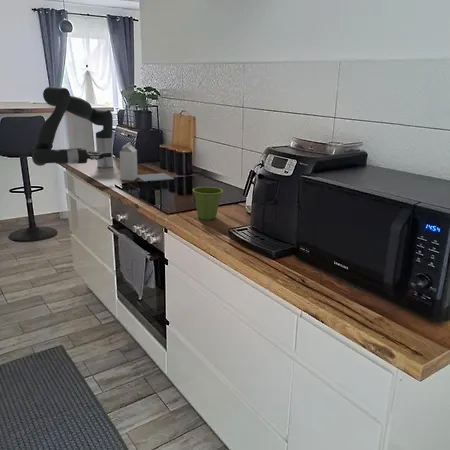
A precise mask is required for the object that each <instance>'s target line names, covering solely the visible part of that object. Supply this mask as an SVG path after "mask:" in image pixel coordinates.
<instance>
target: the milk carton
mask: <svg viewBox="0 0 450 450" xmlns="http://www.w3.org/2000/svg"><path fill="white" fill-rule="evenodd" d="M119 165H120V166H119V167H120V169H119V170H120V172H119V173H120V180H121V181H131V182H132V181H133V182H135V180H137V179H138V175H139V174H138V149H136V148H135V147H134V146H133V145H131V142H128V143H126V144H125V145H123V146H122V147H121V150H120V151H119Z"/></svg>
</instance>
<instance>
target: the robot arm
mask: <svg viewBox="0 0 450 450" xmlns="http://www.w3.org/2000/svg"><path fill="white" fill-rule="evenodd" d="M42 97H43V100H44V101H45V103H46V104H47V105H49V106H52V107H54V109H53V111H52V113H51V115H50V116H49V117H48V118H47V119H46V120H45V121H44V122H43V123H42V125H41V127H40V129H39V133H38V136H37V139H36V140H37V141H36V145H35V148H34V150H33V154H32V156H31V160H32V162H33V163H34V164H35V165H36V166H45V165H46V164H57V165H65V164H67V165H68V164H69V165H77V164H87V163H88V160H90V161H96V163H97V164H96V165H97V168H101V169H102V168H104V169H106V168H107V169H108V168H113V167H114V152H113V149H114V147H113V131H114V130H113V129H114V128H113V127H114V126H113V121H114V118H113V117H114V116H113V112H112V111H111V110H109V109H103V108H102V109H100V108H93V107H92V106H91V103H90V102H88V101H87V100H85V99H83V98H80V97H77V96H74V95H71V93H70V91H69V90H68V89H67V88H66V87H61V86H54V85H53V86H47V87H46V88H45V89H44V90H43V92H42ZM66 112H68V113H69V114H70V113H71V114H72V115H74V116H77V117H79V118H82V119H84V120H87V121H89V122H91V124H93V125H95V126H101V127H102V129H101V130H99V131H97V132H96V133H95V145H96V146H95V147H96V151H93V150H88V152H87V149H86V148H85V147H79V148H78V147H77V148H67V149H66V148H63V149H61V148H60V149H59V148H58V149H51V148H52V147H53V143H54V140H55V137H56V134H57V130H58V129H59V126H60V123H61V121H62V119H63V117H64V115H65V113H66Z"/></svg>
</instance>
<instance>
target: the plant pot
mask: <svg viewBox="0 0 450 450" xmlns="http://www.w3.org/2000/svg"><path fill="white" fill-rule="evenodd" d="M192 192H193V194H194V198H195V205H196V212H197V213H196V214H197V218H198V219H200V220H203V221H211V220H215V219H217V214H218V209H219V206H220V205H219V204H220V201H221V197H222V193H223V192H224V190H223V189H222V188H220V187H215V186H214V187H213V186H198V187H194V188H192Z"/></svg>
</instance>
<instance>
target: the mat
mask: <svg viewBox="0 0 450 450" xmlns="http://www.w3.org/2000/svg"><path fill="white" fill-rule="evenodd" d="M137 179H139V180H141V182H143V183H149V182H148V181H150V182H159V181H161V182H162V181H172V180H174V181H175V178H174V177H172V176H171V175H169V174H166V173H165V172H159V173H148V174H138V178H137Z"/></svg>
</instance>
